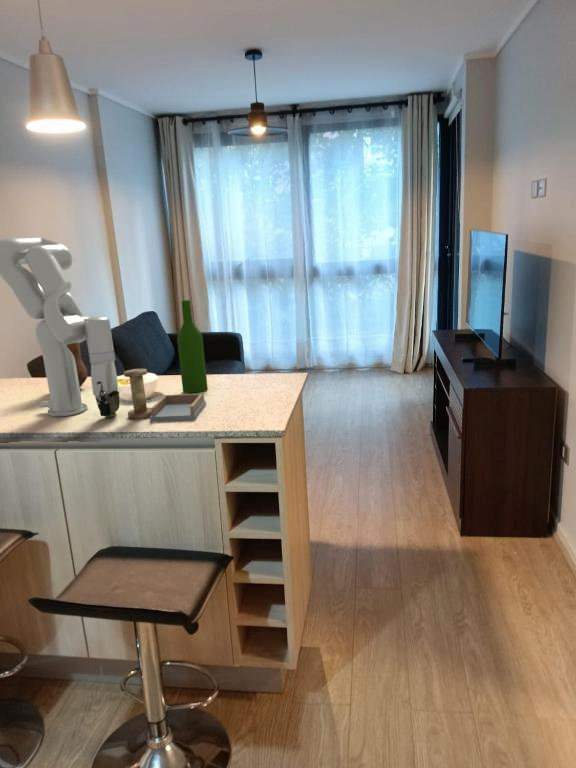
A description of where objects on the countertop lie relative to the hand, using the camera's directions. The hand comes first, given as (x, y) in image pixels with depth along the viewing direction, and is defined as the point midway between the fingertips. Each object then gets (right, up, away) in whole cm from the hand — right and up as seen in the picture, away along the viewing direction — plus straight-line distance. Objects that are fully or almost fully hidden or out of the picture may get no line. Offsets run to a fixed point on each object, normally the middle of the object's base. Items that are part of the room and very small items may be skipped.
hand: (110, 411), depth 188 cm
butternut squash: (-27, +6, +41) cm, 49 cm away
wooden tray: (+22, 0, 0) cm, 22 cm away
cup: (0, -2, 0) cm, 2 cm away
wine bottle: (+23, +6, +27) cm, 36 cm away
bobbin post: (+10, -1, 0) cm, 10 cm away
